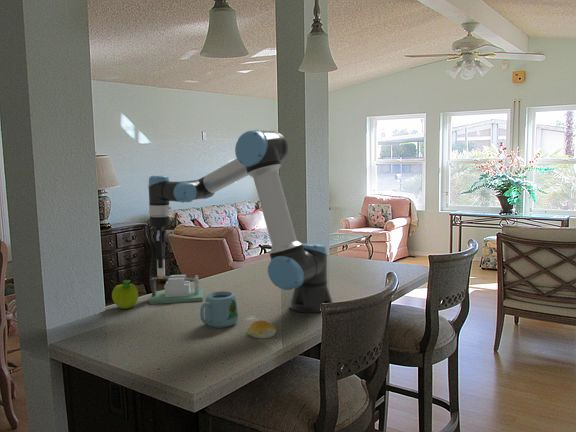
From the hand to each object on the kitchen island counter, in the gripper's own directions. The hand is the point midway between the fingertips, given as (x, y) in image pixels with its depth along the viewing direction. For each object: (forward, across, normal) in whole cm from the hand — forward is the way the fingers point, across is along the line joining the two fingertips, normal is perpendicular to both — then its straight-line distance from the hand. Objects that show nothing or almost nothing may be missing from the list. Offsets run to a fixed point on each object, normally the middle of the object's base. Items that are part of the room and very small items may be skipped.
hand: (161, 275), depth 203 cm
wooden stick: (+2, 0, -6) cm, 7 cm away
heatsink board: (+9, 0, -6) cm, 11 cm away
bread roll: (+8, -48, -37) cm, 61 cm away
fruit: (+10, -10, +12) cm, 18 cm away
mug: (+8, -37, -23) cm, 45 cm away
